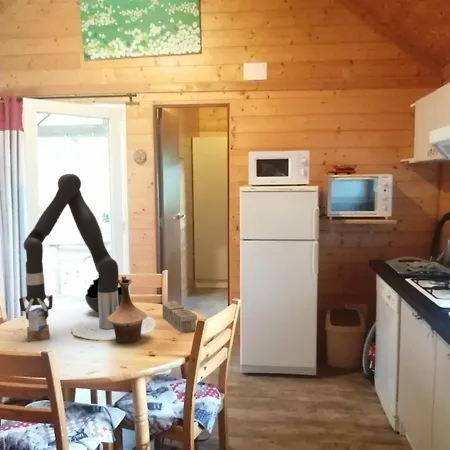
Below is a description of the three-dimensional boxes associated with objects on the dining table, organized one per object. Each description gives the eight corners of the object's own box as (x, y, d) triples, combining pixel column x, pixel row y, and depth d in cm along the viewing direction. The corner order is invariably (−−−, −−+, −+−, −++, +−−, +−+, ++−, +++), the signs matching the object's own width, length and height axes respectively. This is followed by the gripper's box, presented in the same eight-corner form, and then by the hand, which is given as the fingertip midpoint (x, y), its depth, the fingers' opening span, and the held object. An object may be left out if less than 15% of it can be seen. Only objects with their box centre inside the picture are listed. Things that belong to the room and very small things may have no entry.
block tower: (161, 319, 246) (181, 334, 220) (161, 303, 246) (180, 315, 219) (176, 317, 250) (197, 331, 223) (176, 301, 249) (196, 313, 223)
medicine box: (38, 331, 214) (37, 312, 213) (28, 331, 214) (27, 311, 213) (47, 325, 221) (46, 307, 221) (37, 325, 222) (36, 307, 221)
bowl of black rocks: (117, 305, 271) (116, 272, 269) (130, 313, 254) (129, 278, 252) (81, 311, 260) (79, 276, 258) (92, 320, 243) (90, 283, 241)
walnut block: (49, 335, 224) (48, 324, 224) (49, 340, 216) (49, 329, 215) (27, 337, 221) (27, 326, 220) (27, 343, 212) (27, 332, 212)
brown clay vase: (105, 336, 218) (102, 274, 215) (143, 331, 224) (140, 271, 222) (111, 349, 202) (108, 282, 199) (152, 343, 208) (149, 278, 205)
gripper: (53, 279, 221) (55, 315, 222) (19, 281, 218) (22, 318, 220) (50, 283, 213) (53, 320, 215) (16, 285, 211) (18, 323, 212)
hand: (37, 319), depth 217 cm, fingers open, 6 cm apart
